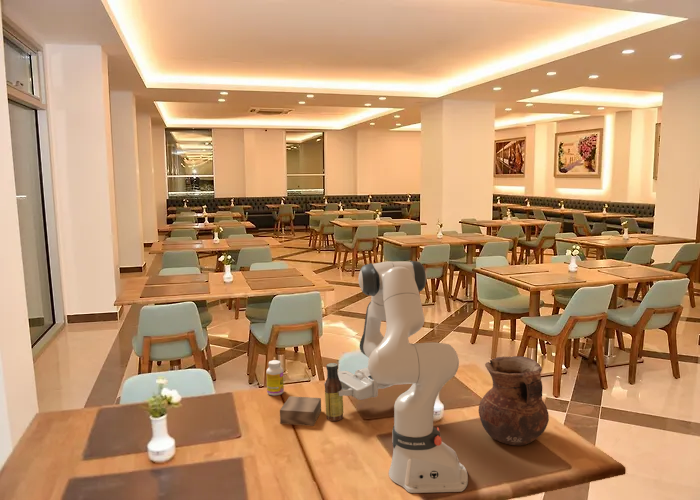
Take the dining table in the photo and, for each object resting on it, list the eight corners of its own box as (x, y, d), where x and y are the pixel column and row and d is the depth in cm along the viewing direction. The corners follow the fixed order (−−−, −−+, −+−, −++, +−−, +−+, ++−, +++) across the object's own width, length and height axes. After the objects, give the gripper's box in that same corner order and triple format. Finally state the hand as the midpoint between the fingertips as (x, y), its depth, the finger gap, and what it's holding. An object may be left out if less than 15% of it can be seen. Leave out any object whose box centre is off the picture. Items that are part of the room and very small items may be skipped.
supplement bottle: (282, 396, 213) (281, 364, 212) (265, 396, 213) (264, 365, 212) (284, 389, 220) (283, 359, 218) (268, 389, 220) (267, 359, 218)
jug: (466, 436, 178) (467, 364, 175) (496, 415, 193) (498, 348, 190) (530, 460, 163) (533, 381, 160) (558, 435, 178) (561, 362, 175)
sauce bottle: (346, 416, 194) (345, 363, 192) (337, 423, 189) (336, 369, 186) (331, 412, 198) (330, 360, 195) (321, 419, 193) (320, 365, 190)
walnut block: (321, 410, 199) (320, 398, 199) (313, 425, 188) (313, 412, 187) (289, 409, 201) (289, 396, 201) (280, 423, 190) (279, 410, 189)
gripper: (349, 364, 207) (317, 372, 200) (380, 381, 190) (346, 389, 183) (349, 380, 208) (317, 388, 201) (380, 398, 191) (347, 407, 183)
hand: (331, 389), depth 191 cm, fingers open, 8 cm apart
